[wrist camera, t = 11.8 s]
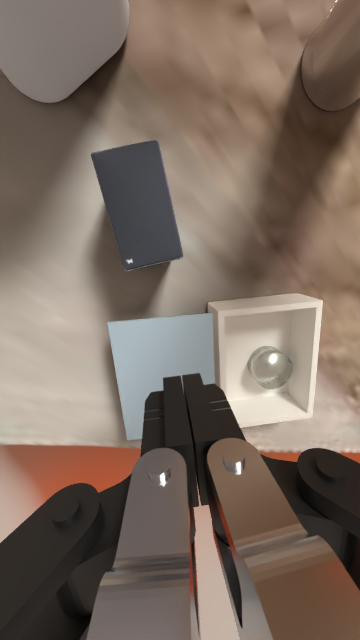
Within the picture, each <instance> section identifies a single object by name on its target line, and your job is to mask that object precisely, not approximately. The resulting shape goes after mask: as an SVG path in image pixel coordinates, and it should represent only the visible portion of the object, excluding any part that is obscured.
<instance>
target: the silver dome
mask: <svg viewBox="0 0 360 640" xmlns="http://www.w3.org/2000/svg"><path fill="white" fill-rule="evenodd" d="M248 370H249V372H250V374H251V375H252V376H253V378H254V379H255V380H256V381H257V383H258V384H259V385H260V386H262V387H263V388H266V389H276V388H279V387H281V386H283V385H284V384H285V383H287V382H288V380H289V379H290V377H291V375H292V372H293V364H292V362H291V360H290V359H289V358H288V357H287V356H286V355H285V354H283V353H282V352H281V351H280V350H278V349H277V348H275V347H273V346H263V347H260V348H258V349H256V350H255V351H254V352H253V353H252V354H251V356H250V357H249V360H248Z"/></svg>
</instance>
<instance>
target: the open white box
mask: <svg viewBox="0 0 360 640" xmlns="http://www.w3.org/2000/svg"><path fill="white" fill-rule="evenodd" d="M322 305H323V300H319V299H316V298H312V297H309V296H305V295H302V294H298V293H292V294H282V295H272V296H262V297H252V298H242V299H232V300H222V301H212V302H208V313H212V318H213V343H214V368H215V384H216V385H217V386H218V387H220V388H221V389H222V390H223V391H224V393H225V396H226V398H227V401H228V402H229V404H230V407H231V409H232V411H233V413H234V415H235V418H236V420H237V422H238V424H239V426H240V428H243V427H250V426H256V425H263V424H270V423H277V422H283V421H290V420H297V419H304V418H310V417H312V416H313V405H314V394H315V383H316V372H317V361H318V349H319V338H320V327H321V316H322ZM263 346H273V347H275V348H277V349H278V350H280V351H281V352H282V353H283V354H285V355H286V356H287V357H288V358H289V359H290V360H291V362H292V364H293V372H292V375H291V377H290V379H289V380H288V382H287V383H285V384H284V385H283V386H281V387H279V388H276V389H266V388H263V387H262V386H260V385H259V384H258V383H257V381H256V380H255V379H254V378H253V376H252V375H251V374H250V372H249V370H248V360H249V357H250V356H251V354H252V353H253V352H254V351H255V350H256V349H258V348H260V347H263Z"/></svg>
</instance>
